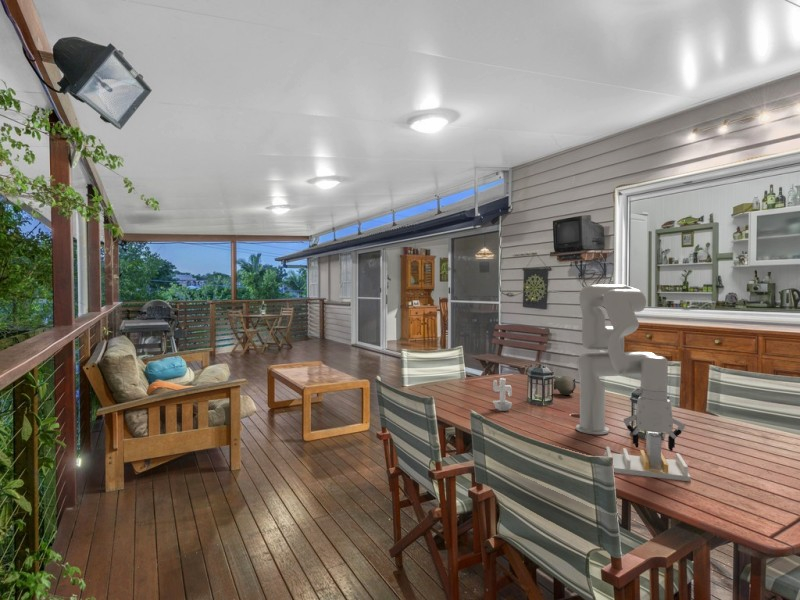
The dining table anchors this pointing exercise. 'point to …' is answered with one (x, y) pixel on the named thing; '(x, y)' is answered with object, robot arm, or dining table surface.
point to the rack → (641, 466)
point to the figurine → (502, 395)
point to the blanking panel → (653, 449)
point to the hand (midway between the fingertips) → (653, 447)
